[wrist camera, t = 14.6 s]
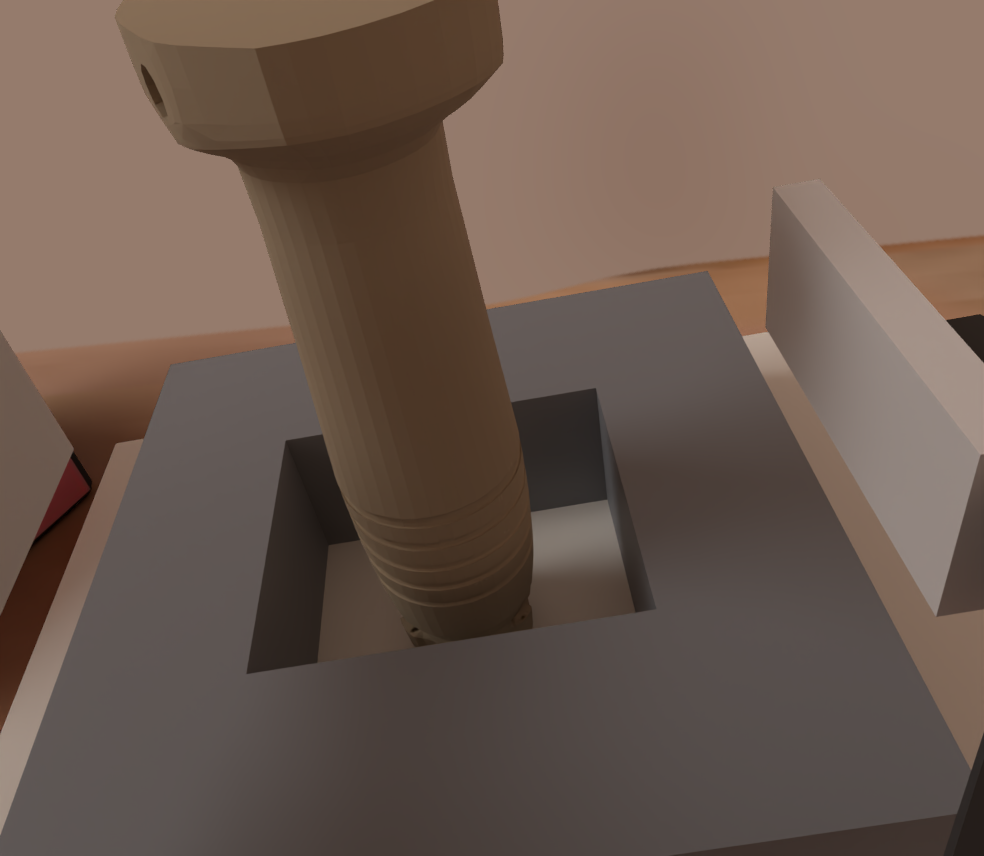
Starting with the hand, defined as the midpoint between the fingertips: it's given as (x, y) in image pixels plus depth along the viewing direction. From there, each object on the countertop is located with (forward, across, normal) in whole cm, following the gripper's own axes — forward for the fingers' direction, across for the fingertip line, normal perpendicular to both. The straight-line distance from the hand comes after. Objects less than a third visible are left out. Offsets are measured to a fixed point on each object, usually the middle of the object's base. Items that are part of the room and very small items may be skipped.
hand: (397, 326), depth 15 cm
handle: (+1, 0, -10) cm, 10 cm away
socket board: (+1, 0, -11) cm, 11 cm away
